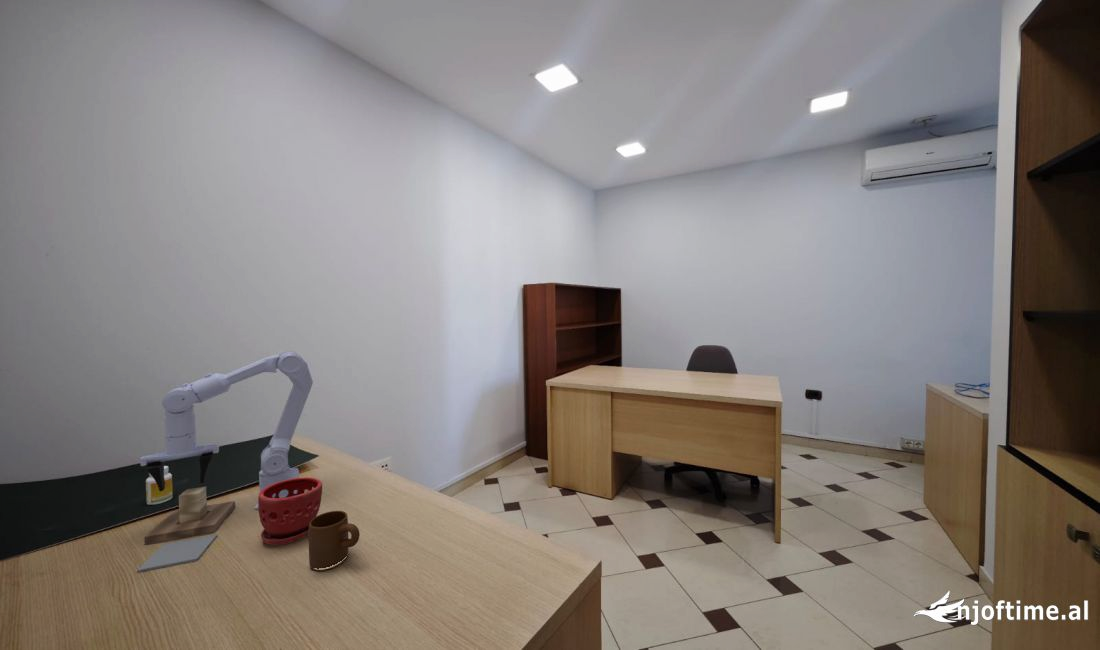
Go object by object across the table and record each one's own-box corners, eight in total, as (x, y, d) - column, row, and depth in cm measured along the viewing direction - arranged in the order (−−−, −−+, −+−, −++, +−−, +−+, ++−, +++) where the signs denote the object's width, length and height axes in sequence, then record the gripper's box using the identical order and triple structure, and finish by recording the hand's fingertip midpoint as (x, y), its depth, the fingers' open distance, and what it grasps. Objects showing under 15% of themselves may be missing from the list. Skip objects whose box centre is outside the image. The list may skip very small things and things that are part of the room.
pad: (217, 536, 93) (217, 534, 93) (197, 560, 84) (197, 558, 84) (164, 546, 89) (164, 544, 89) (137, 572, 80) (137, 570, 80)
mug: (372, 557, 84) (371, 515, 84) (344, 579, 77) (343, 534, 77) (330, 547, 88) (329, 507, 88) (300, 568, 81) (299, 525, 81)
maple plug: (207, 519, 101) (206, 486, 101) (199, 527, 97) (198, 493, 97) (187, 522, 99) (186, 489, 99) (179, 530, 96) (178, 495, 95)
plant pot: (285, 554, 86) (284, 502, 85) (245, 544, 90) (244, 494, 89) (334, 524, 98) (333, 479, 98) (298, 516, 102) (297, 472, 102)
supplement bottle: (177, 496, 114) (176, 465, 114) (157, 505, 109) (156, 472, 108) (162, 496, 114) (161, 464, 114) (141, 504, 109) (140, 471, 109)
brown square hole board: (235, 508, 107) (235, 501, 107) (214, 532, 95) (214, 524, 95) (174, 517, 102) (174, 510, 102) (144, 545, 90) (144, 536, 90)
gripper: (219, 425, 106) (221, 473, 106) (144, 436, 97) (147, 487, 97) (216, 431, 100) (218, 481, 100) (137, 443, 91) (139, 498, 92)
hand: (182, 485), depth 99 cm, fingers open, 7 cm apart
